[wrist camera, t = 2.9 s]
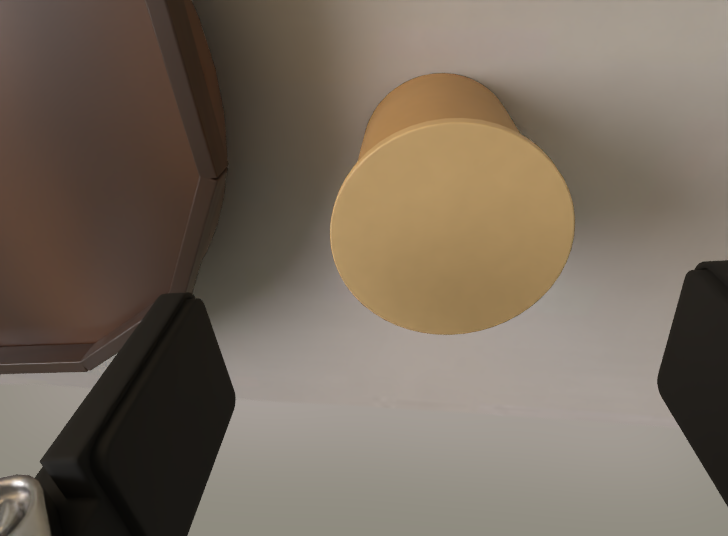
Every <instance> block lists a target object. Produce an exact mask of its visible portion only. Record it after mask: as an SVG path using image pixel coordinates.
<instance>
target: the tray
mask: <svg viewBox="0 0 728 536" xmlns="http://www.w3.org/2000/svg"><path fill="white" fill-rule="evenodd" d="M227 166H228V161H227V145H226V131H225V117H224V110H223V105H222V100H221V95H220V90H219V85H218V80H217V75H216V70H215V66H214V63H213V60H212V57H211V54H210V50H209V47H208V44H207V41H206V38H205V35H204V32H203V29H202V25H201V22H200V19H199V17H198V15H197V12H196V10H195V8H194V6H193V3H192V1H191V0H0V374H20V373H56V372H87V371H88V370H92V369H94V368H95V367H97V366H98V365H100V364H101V363H103V362H104V361H106V360H107V359H109V358H110V357H112V356H113V355H115V354H116V353H118V352H119V351H120V349H121V348H122V347H123V345H124V344H125V342H126V341H127V340H128V338H129V337H130V336H131V334H132V333H133V331H134V330H135V329H136V327H137V326H138V324H139V323H140V322H141V320H142V319H143V318H144V316H145V315H146V313H147V312H148V311H149V309H150V308H151V306H152V305H153V304H154V302H155V301H156V300H157V298H158V297H159V296H160V295H161V294H167V293H184V292H190V293H192V292H193V288H194V285H195V282H196V278H197V275H198V271H199V268H200V265H201V261H202V259H203V257H204V256H205V254H206V252H207V250H208V248H209V245H210V243H211V240H212V238H213V235H214V232H215V230H216V227H217V225H218V221H219V216H220V212H221V207H222V203H223V198H224V193H225V182H226V176H227V173H228V168H227Z"/></svg>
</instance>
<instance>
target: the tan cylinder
mask: <svg viewBox="0 0 728 536" xmlns="http://www.w3.org/2000/svg"><path fill="white" fill-rule="evenodd" d="M574 231H575V215H574V206H573V202H572V198H571V195H570V191H569V189H568V187H567V185H566V182H565V180H564V178H563V176H562V175H561V173H560V172H559V171H558V169H557V168H556V166H555V165H554V163H553V162H552V160H551V159H550V158H549V157H548V156H547V155H546V154H545V153H544V152H543V150H542V149H541V148H539V147H538V146H537V145H536V144H534V143H533V142H532V141H531V140H529V139H528V138H526V137H525V136H523V135H521V134H520V132H519V131H518V129H517V128H516V126H515V124H514V123H513V121H512V119H511V118H510V116H509V114H508V113H507V111H506V109H505V108H504V106H503V105H502V103H501V102H500V101H499V99H498V98H497V97H496V96H495V95H494V94H493V93H492V92H491V91H490V90H489V89H487V88H486V87H485V86H483V85H482V84H480V83H478V82H477V81H475V80H472V79H470V78H467V77H464V76H460V75H456V74H448V73H437V74H429V75H423V76H420V77H417V78H414V79H411V80H409V81H407V82H405V83H403V84H402V85H400V86H398V87H397V88H395V89H394V90H393V91H392V92H390V93H389V94H388V95H387V96H386V97H385V98H384V99H383V100H382V101H381V102H380V103H379V105H378V106H377V108H376V109H375V111H374V112H373V114H372V116H371V118H370V120H369V122H368V125H367V128H366V131H365V135H364V139H363V143H362V146H361V150H360V154H359V158H358V162H357V163H356V164H355V166H354V167H353V168H352V170H351V171H350V172H349V174H348V175H347V177H346V179H345V180H344V182H343V184H342V186H341V188H340V190H339V193H338V196H337V198H336V201H335V204H334V208H333V212H332V217H331V224H330V241H331V250H332V254H333V258H334V262H335V264H336V267H337V269H338V272H339V274H340V276H341V277H342V279H343V281H344V283H345V284H346V286H347V287H348V289H349V290H350V291H351V292H352V294H353V295H354V296H355V297H356V298H357V299H358V300H359V301H360V302H361V303H362V304H363V305H364V306H365V307H367V308H368V309H369V310H370V311H372V312H373V313H374V314H376V315H378V316H379V317H381V318H383V319H384V320H386V321H388V322H391V323H393V324H395V325H397V326H400V327H403V328H406V329H409V330H413V331H418V332H422V333H429V334H443V335H453V334H465V333H470V332H476V331H481V330H484V329H487V328H491V327H494V326H496V325H499V324H501V323H504V322H506V321H508V320H510V319H512V318H514V317H516V316H518V315H519V314H521V313H522V312H524V311H525V310H527V309H528V308H530V307H531V306H532V305H533V304H534V303H536V302H537V301H538V300H539V299H540V298H541V297H542V296H543V295H544V294H545V293H546V292H547V291H548V290H549V289H550V288H551V287H552V285H553V284H554V282H555V281H556V280H557V278H558V277H559V275H560V274H561V272H562V270H563V268H564V266H565V264H566V262H567V259H568V257H569V254H570V251H571V248H572V243H573V238H574Z"/></svg>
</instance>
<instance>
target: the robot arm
mask: <svg viewBox="0 0 728 536" xmlns="http://www.w3.org/2000/svg"><path fill="white" fill-rule="evenodd" d="M657 384H658V389H659V392H660V395H661V397H662V399H663V400H664V402H665V403H666V405H667V407H668V408H669V410H670V412H671V413H672V415H673V417H674V418H675V420H676V422H677V423H678V425H679V427H680V428H681V430H682V432H683V433H684V435H685V437H686V438H687V440H688V441H689V443H690V445H691V447H692V448H693V450H694V451H695V453H696V455H697V456H698V458H699V460H700V461H701V463H702V465H703V466H704V468H705V470H706V471H707V473H708V475H709V476H710V478H711V480H712V481H713V483H714V484H715V486H716V488H717V490H718V491H719V493H720V494H721V496H722V498H723V499H724V501H725V503H726V504H727V506H728V260H725V261H708V262H701V263H699V264H698V265H697V266H696V268H695V270H691V271H689V272H688V273H687V274H686V276H685V279H684V283H683V286H682V290H681V294H680V297H679V301H678V305H677V308H676V312H675V315H674V319H673V323H672V326H671V330H670V334H669V337H668V341H667V345H666V348H665V352H664V355H663V359H662V363H661V366H660V370H659V374H658V379H657ZM234 407H235V392H234V389H233V386H232V383H231V380H230V377H229V374H228V371H227V368H226V366H225V363H224V360H223V357H222V354H221V351H220V348H219V345H218V342H217V340H216V337H215V334H214V331H213V328H212V325H211V322H210V319H209V317H208V314H207V311H206V308H205V305H204V303H203V301H202V300H201V299H196V298H195V296H194V295H193V294H192V293H190V292H184V293H167V294H161V295H160V296H159V297H158V298H157V300H156V301H155V302H154V304H153V305H152V306H151V308H150V309H149V311H148V312H147V313H146V315H145V316H144V318H143V319H142V320H141V322H140V323H139V324H138V326H137V327H136V329H135V330H134V331H133V333H132V334H131V336H130V337H129V338H128V340H127V341H126V342H125V344H124V345H123V347H122V348H121V349H120V351H119V352H118V354H117V355H116V356H115V358H114V359H113V360H112V362H111V363H110V365H109V366H108V367H107V369H106V370H105V372H104V373H103V374H102V376H101V377H100V379H99V380H98V381H97V383H96V384H95V385H94V387H93V388H92V390H91V391H90V392H89V394H88V395H87V397H86V398H85V399H84V401H83V402H82V403H81V405H80V406H79V408H78V409H77V410H76V412H75V413H74V415H73V416H72V417H71V419H70V420H69V421H68V423H67V424H66V426H65V427H64V428H63V430H62V431H61V433H60V434H59V435H58V437H57V438H56V440H55V441H54V442H53V444H52V445H51V447H50V448H49V449H48V451H47V452H46V453H45V455H44V456H43V458H42V459H41V460H40V463H41V464H42V466H43V467H42V469H41V470H40V471H39V473H38V474H37V476H36V477H35V478H33V477H31V476H29V475H13V476H8V477H3V478H0V536H187V535H188V532H189V529H190V527H191V524H192V521H193V519H194V516H195V513H196V511H197V508H198V505H199V502H200V500H201V497H202V494H203V492H204V489H205V486H206V483H207V481H208V478H209V476H210V473H211V470H212V467H213V465H214V462H215V459H216V456H217V454H218V451H219V448H220V446H221V443H222V440H223V438H224V435H225V432H226V430H227V427H228V424H229V421H230V419H231V416H232V413H233V411H234Z"/></svg>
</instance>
